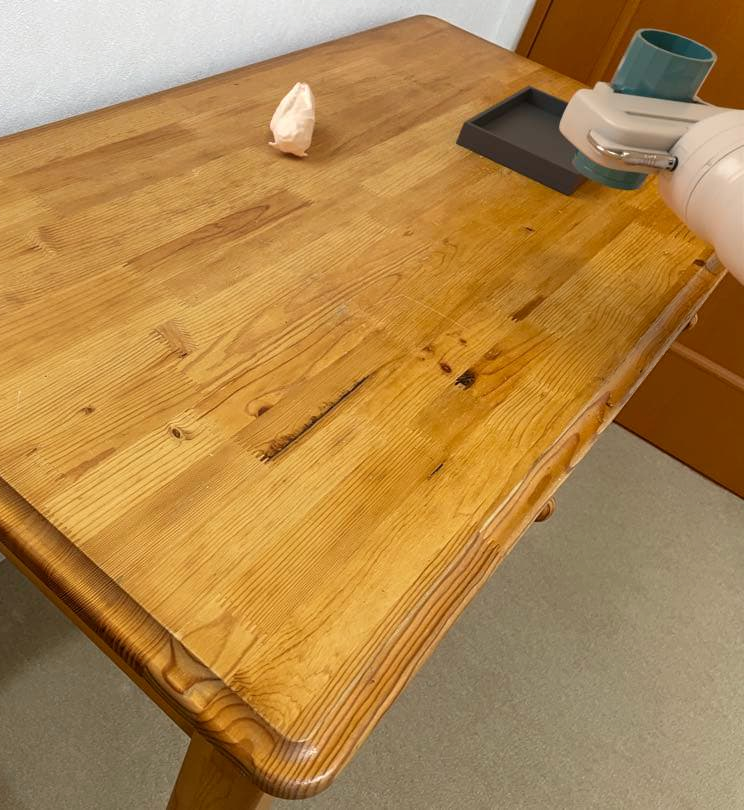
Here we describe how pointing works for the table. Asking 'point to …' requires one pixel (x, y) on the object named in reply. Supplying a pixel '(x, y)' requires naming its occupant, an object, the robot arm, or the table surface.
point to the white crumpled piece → (294, 121)
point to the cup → (652, 88)
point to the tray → (526, 138)
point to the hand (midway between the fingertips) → (641, 96)
